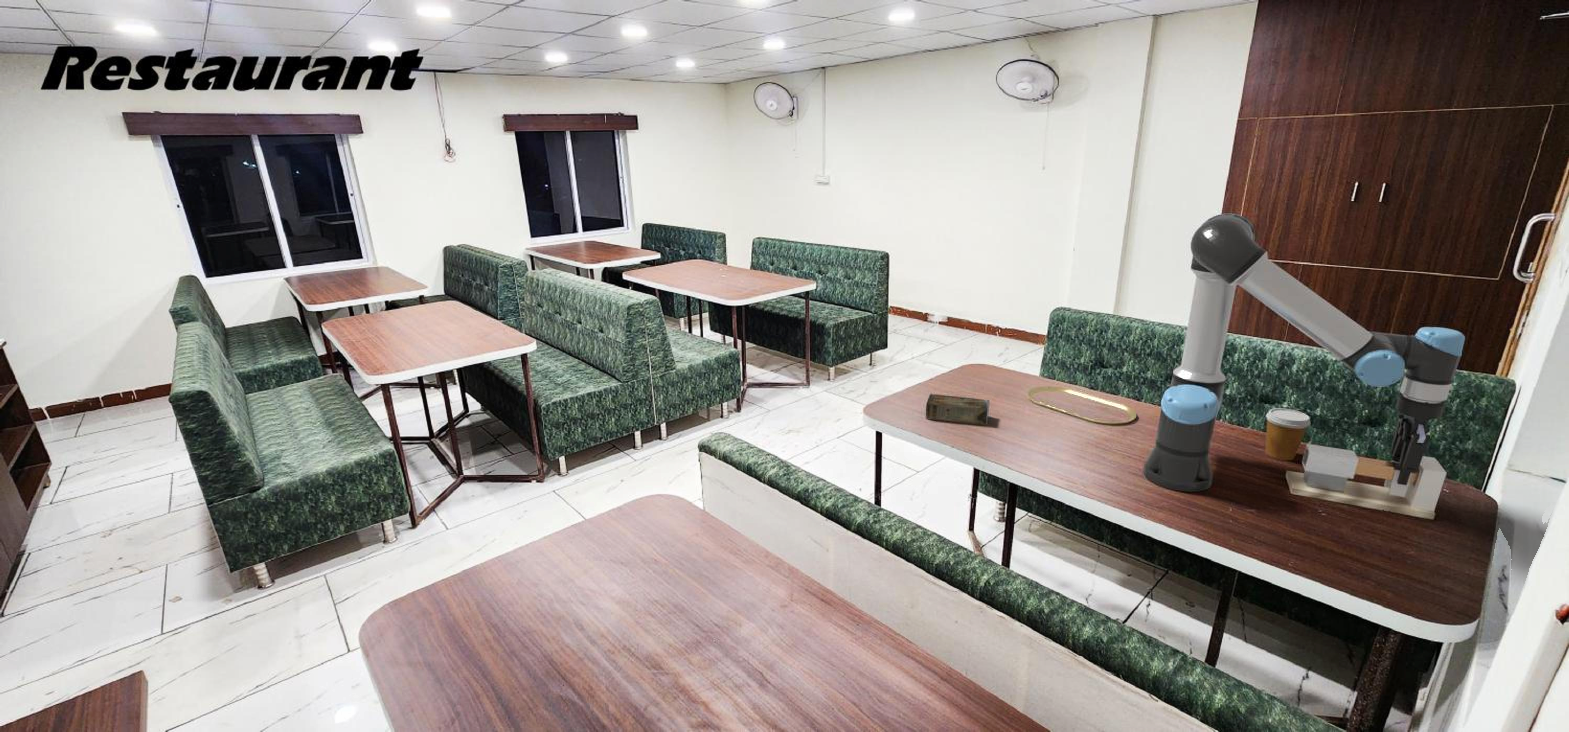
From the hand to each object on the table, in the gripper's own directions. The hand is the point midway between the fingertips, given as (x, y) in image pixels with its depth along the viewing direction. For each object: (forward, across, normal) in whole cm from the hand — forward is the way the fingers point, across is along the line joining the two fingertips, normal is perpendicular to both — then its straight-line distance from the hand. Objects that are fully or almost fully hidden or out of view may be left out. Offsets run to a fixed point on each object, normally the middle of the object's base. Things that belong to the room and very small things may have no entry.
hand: (1394, 491), depth 150 cm
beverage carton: (+4, +6, +104) cm, 104 cm away
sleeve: (+2, 0, +13) cm, 13 cm away
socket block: (+2, 0, -4) cm, 5 cm away
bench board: (+3, 0, +6) cm, 7 cm away
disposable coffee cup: (+3, +18, +19) cm, 27 cm away
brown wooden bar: (-3, 0, +3) cm, 5 cm away
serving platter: (+4, +32, +71) cm, 78 cm away
